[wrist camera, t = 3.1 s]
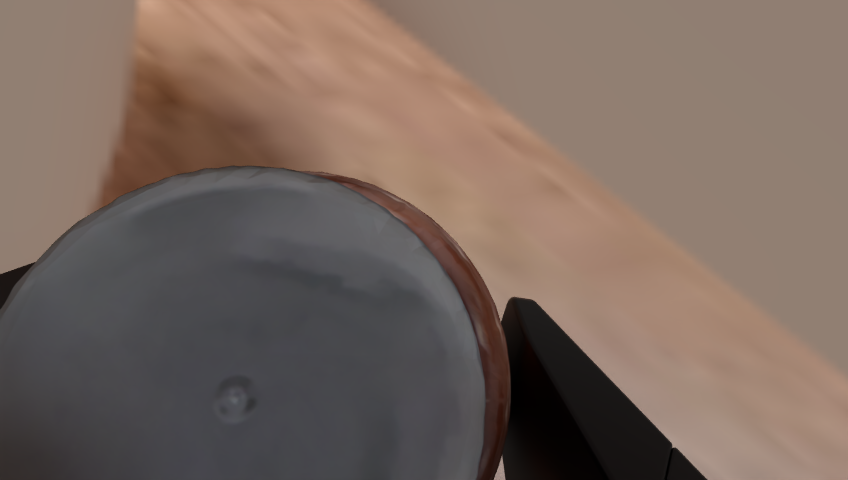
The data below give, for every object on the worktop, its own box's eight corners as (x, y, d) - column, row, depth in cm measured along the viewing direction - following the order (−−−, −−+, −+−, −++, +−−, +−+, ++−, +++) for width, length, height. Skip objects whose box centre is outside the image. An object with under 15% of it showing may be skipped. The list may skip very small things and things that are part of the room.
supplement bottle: (234, 272, 15) (-144, 46, 4) (429, 258, 16) (557, 36, 5) (235, 485, 14) (-320, 1001, 3) (447, 461, 14) (680, 800, 3)
